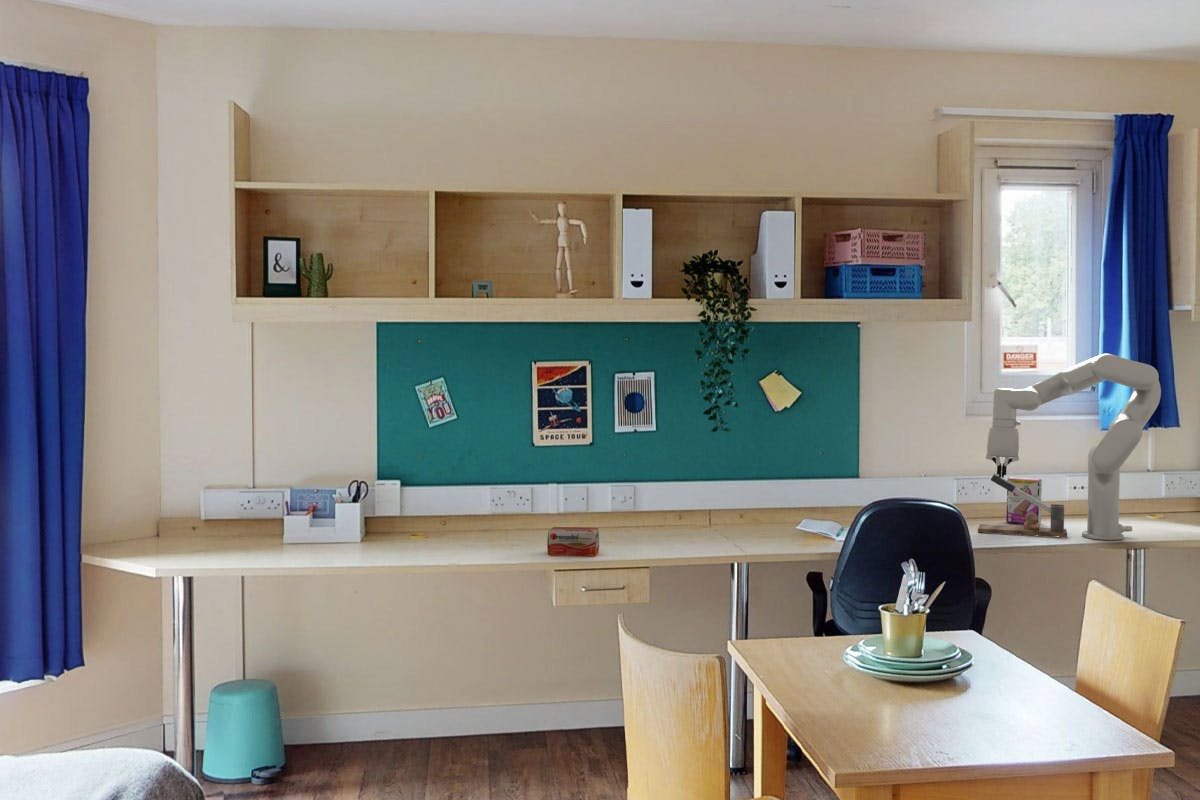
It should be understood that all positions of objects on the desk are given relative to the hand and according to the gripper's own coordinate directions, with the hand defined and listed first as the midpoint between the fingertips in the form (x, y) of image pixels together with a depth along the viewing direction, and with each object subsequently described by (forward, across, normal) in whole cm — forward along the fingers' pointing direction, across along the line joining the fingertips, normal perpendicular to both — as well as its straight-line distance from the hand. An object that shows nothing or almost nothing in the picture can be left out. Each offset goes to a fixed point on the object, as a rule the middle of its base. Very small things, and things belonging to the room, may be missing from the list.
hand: (1001, 476), depth 371 cm
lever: (+7, -8, 0) cm, 10 cm away
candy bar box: (+19, -8, -22) cm, 30 cm away
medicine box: (+24, +122, +89) cm, 153 cm away
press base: (+19, -8, 0) cm, 20 cm away
